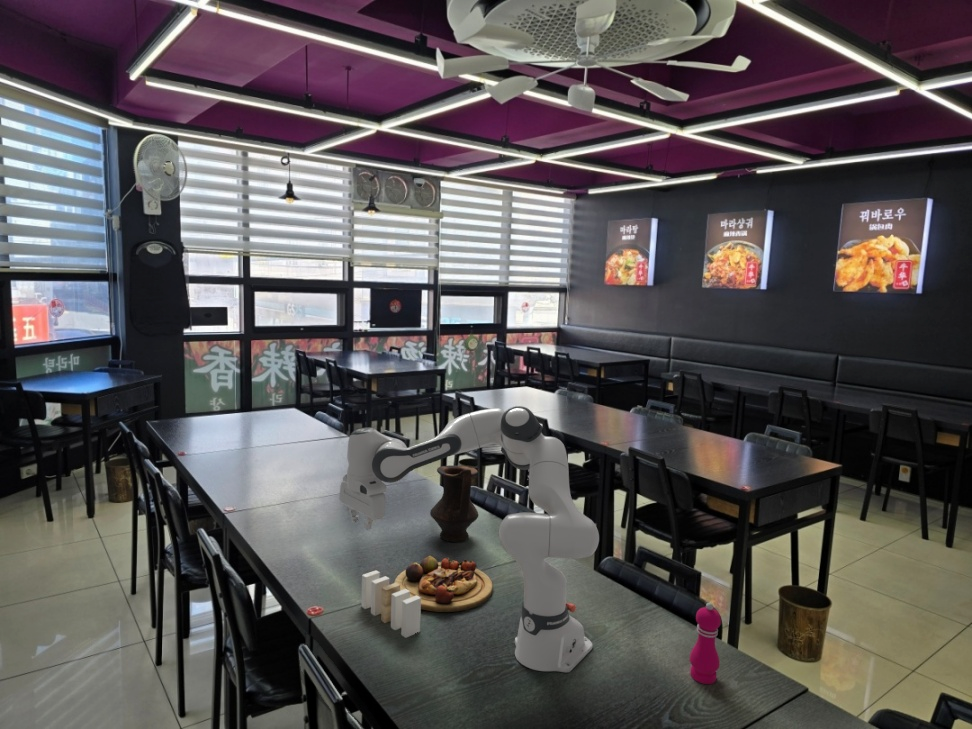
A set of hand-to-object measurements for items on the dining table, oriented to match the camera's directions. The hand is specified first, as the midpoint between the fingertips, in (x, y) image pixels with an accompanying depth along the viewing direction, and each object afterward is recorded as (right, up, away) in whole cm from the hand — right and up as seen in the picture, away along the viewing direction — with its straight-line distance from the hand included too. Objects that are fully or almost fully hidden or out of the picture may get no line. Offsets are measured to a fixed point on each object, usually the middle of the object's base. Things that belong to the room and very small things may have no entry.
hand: (361, 525), depth 192 cm
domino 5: (+17, -26, -16) cm, 35 cm away
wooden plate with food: (+24, -24, +11) cm, 36 cm away
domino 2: (+7, -24, -5) cm, 26 cm away
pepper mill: (+94, -31, -30) cm, 103 cm away
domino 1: (+3, -24, -2) cm, 24 cm away
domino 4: (+14, -26, -12) cm, 31 cm away
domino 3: (+10, -25, -9) cm, 28 cm away
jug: (+26, -18, +51) cm, 60 cm away
